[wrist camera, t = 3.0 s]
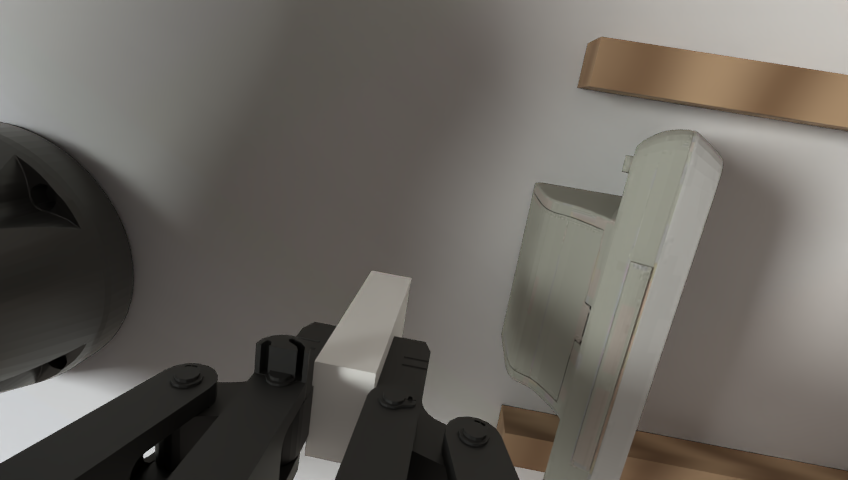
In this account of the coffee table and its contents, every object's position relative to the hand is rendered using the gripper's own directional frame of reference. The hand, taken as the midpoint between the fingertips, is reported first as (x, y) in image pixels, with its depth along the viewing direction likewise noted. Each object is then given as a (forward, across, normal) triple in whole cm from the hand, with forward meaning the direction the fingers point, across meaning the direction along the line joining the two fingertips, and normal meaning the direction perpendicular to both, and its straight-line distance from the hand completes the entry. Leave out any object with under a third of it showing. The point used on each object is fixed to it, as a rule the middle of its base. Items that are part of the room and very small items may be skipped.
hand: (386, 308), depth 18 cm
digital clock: (+9, +10, 0) cm, 13 cm away
